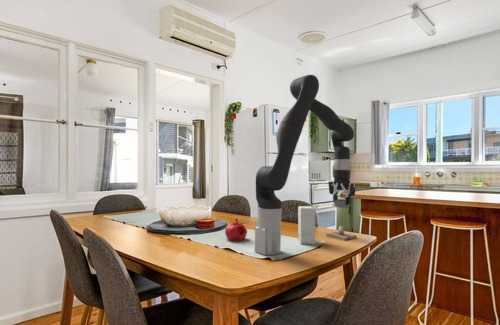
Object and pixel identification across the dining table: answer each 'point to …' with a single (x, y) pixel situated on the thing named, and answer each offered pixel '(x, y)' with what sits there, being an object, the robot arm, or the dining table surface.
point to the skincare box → (306, 224)
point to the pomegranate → (235, 231)
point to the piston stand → (341, 235)
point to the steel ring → (340, 203)
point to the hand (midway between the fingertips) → (341, 204)
